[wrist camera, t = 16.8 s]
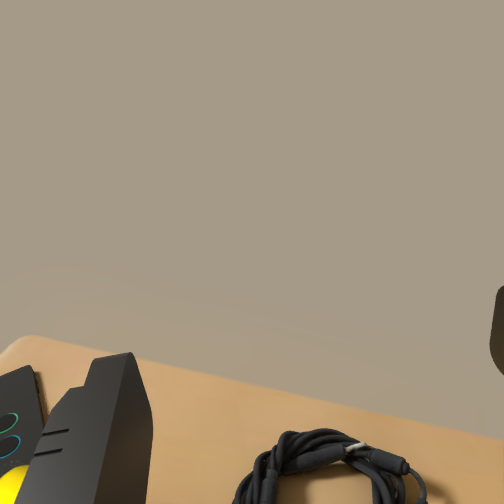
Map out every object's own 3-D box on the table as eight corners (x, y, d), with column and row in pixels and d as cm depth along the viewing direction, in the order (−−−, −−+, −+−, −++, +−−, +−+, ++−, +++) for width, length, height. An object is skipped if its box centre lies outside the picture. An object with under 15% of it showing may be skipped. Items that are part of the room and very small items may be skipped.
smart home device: (-43, 513, 39) (-36, 389, 55) (-35, 524, 40) (-31, 399, 56) (51, 465, 43) (31, 362, 59) (56, 476, 43) (36, 371, 59)
